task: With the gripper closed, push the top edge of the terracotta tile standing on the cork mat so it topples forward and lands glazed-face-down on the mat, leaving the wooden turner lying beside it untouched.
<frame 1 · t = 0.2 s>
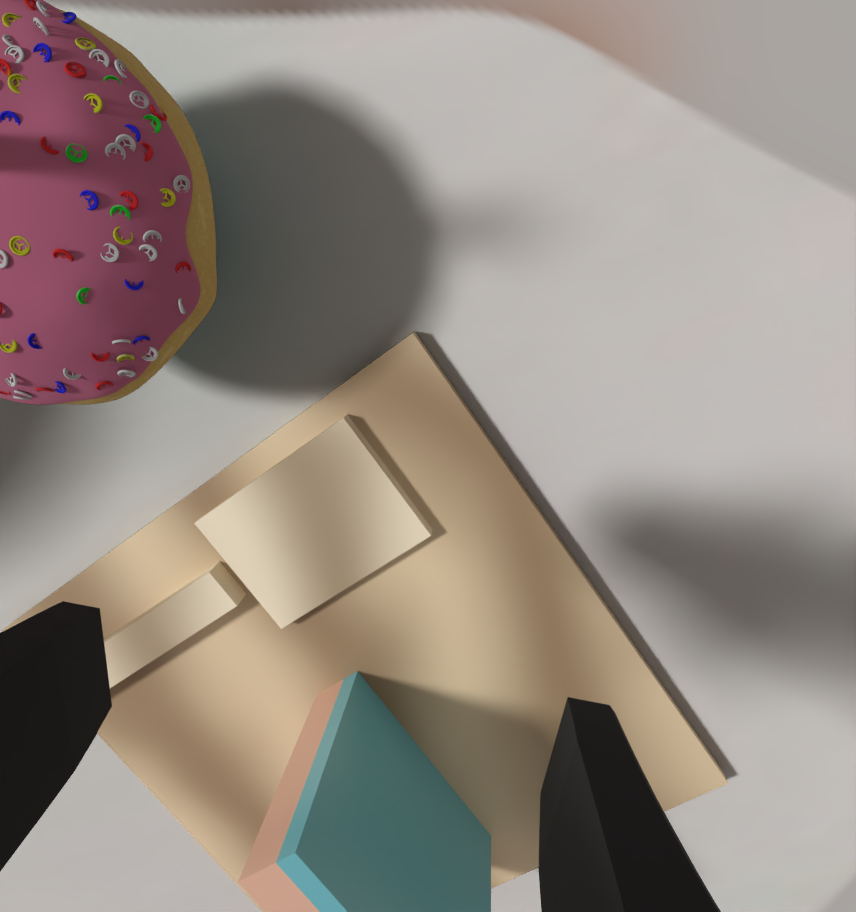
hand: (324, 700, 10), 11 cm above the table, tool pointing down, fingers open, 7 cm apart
cork mat: (357, 695, 22), on the table
tile: (405, 767, 22), resting on cork mat
cupcake: (140, 231, 19), on the table
wooden turner: (244, 570, 21), resting on cork mat
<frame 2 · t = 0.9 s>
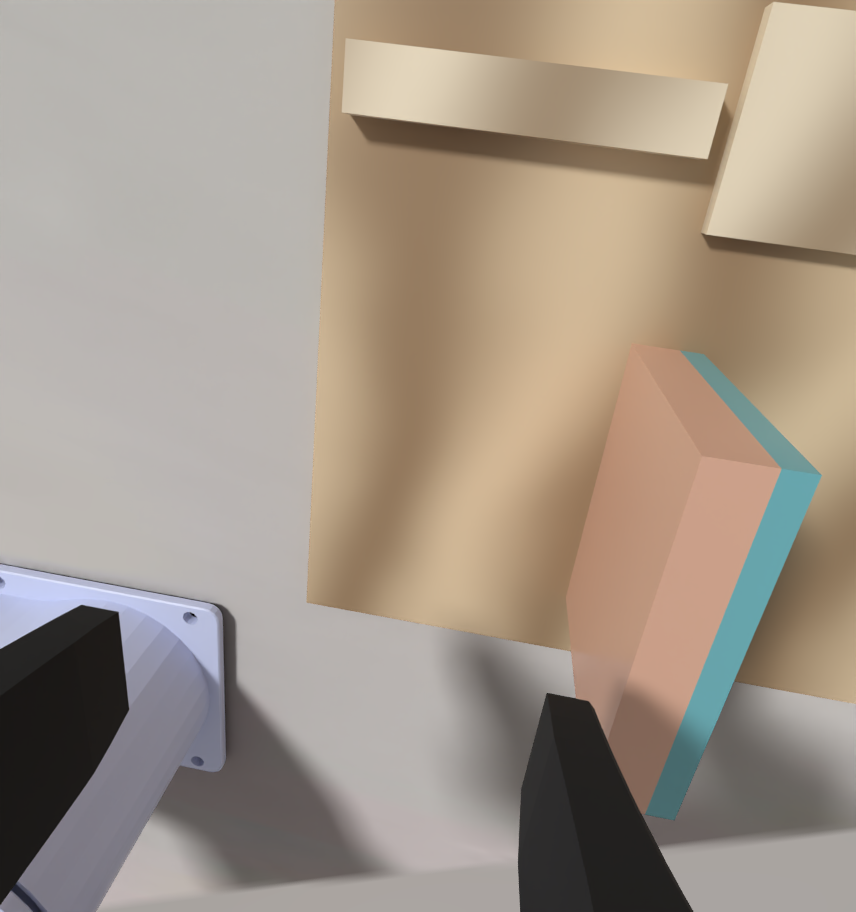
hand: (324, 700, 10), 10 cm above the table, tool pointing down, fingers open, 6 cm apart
cork mat: (653, 380, 17), on the table
tile: (628, 487, 18), resting on cork mat
wooden turner: (730, 127, 14), resting on cork mat
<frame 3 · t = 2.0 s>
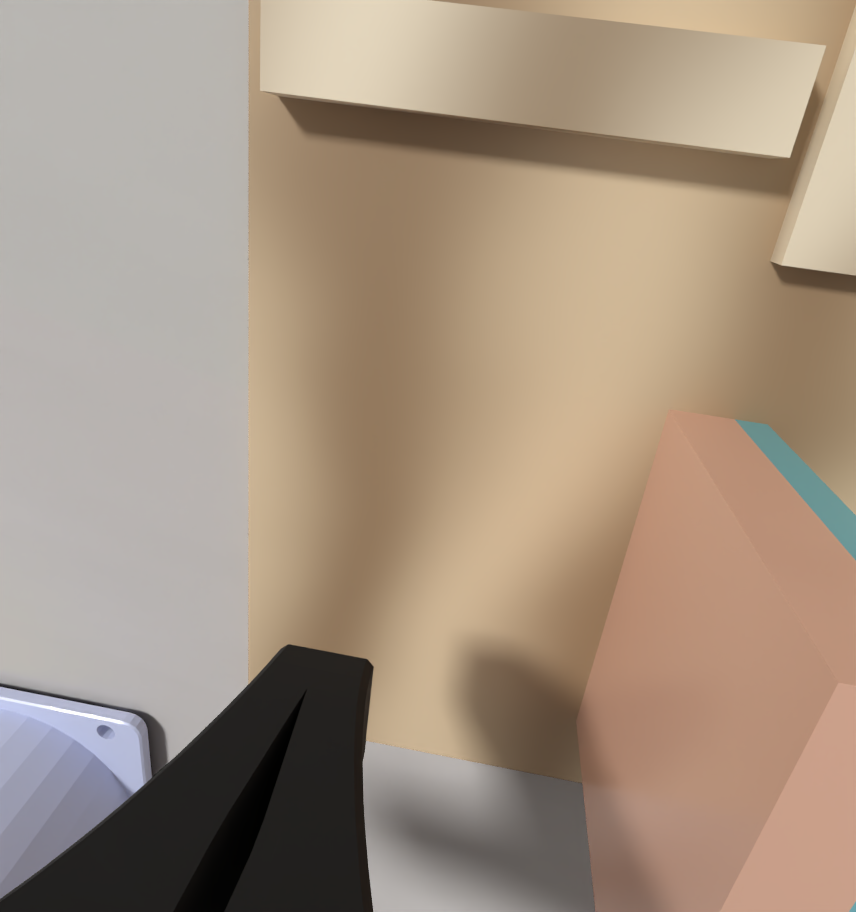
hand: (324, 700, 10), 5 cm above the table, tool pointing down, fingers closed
cork mat: (695, 454, 13), on the table
tile: (659, 591, 14), resting on cork mat
wooden turner: (819, 112, 10), resting on cork mat
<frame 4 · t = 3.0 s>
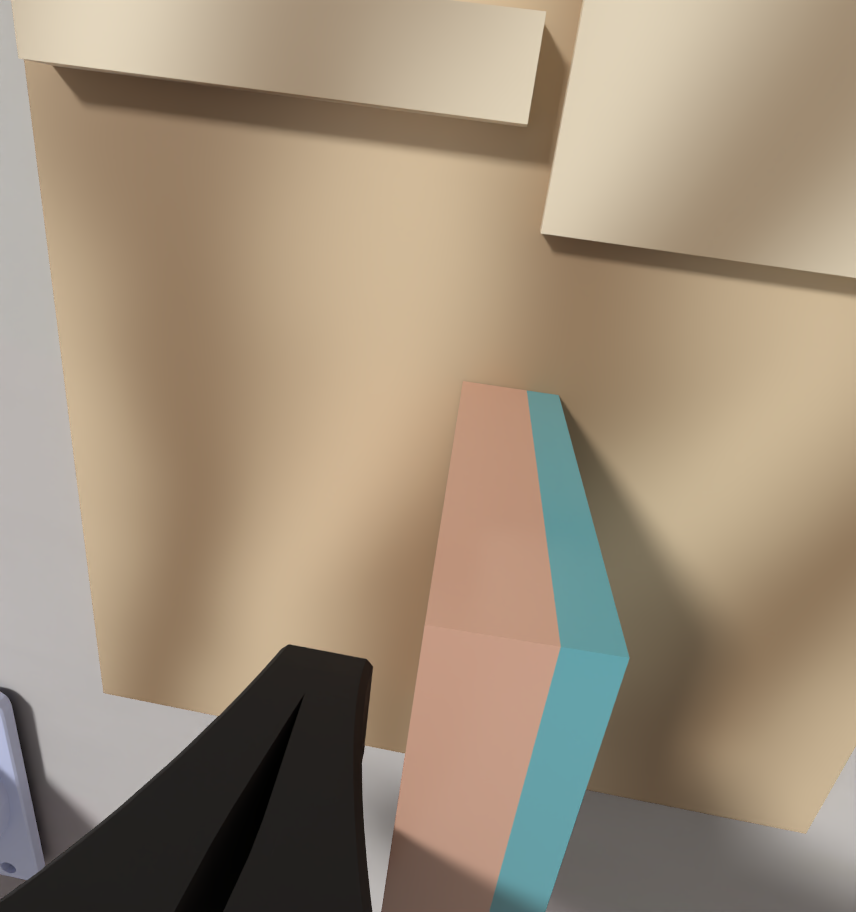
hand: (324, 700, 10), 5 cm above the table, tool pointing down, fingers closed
cork mat: (502, 426, 13), on the table
tile: (477, 565, 14), point 1 cm above the table, touching cork mat
wooden turner: (567, 80, 10), resting on cork mat
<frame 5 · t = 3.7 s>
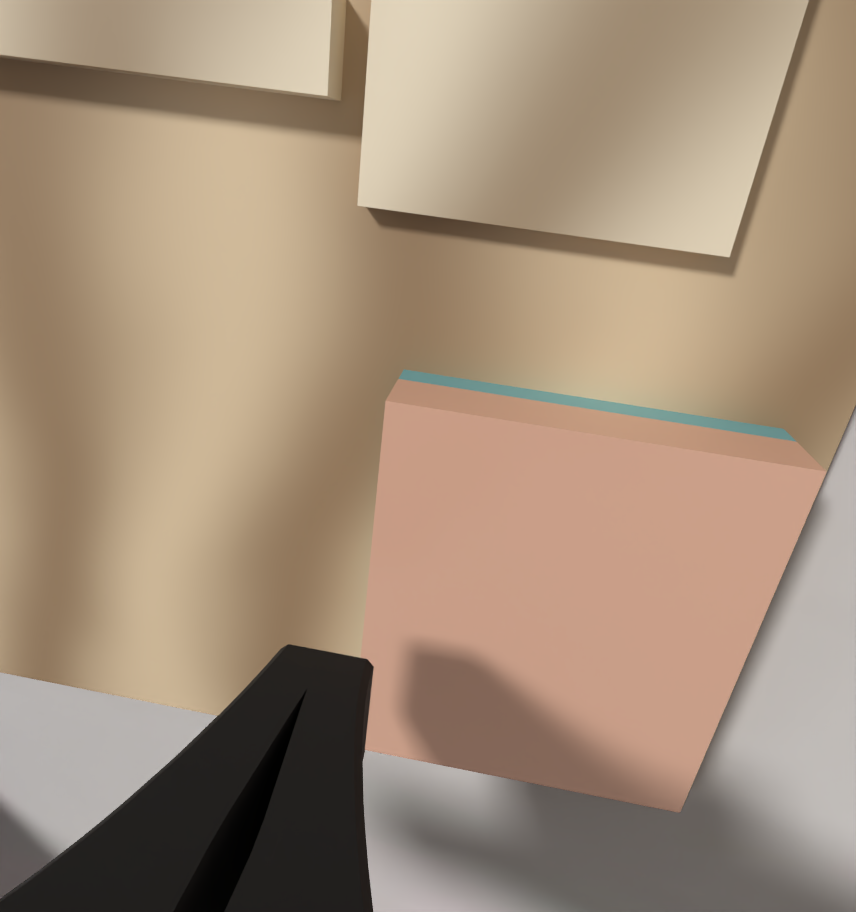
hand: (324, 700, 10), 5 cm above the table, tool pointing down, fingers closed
cork mat: (355, 401, 13), on the table
tile: (376, 571, 13), point 1 cm above the table, tilted 90°, touching cork mat
wooden turner: (374, 54, 10), resting on cork mat
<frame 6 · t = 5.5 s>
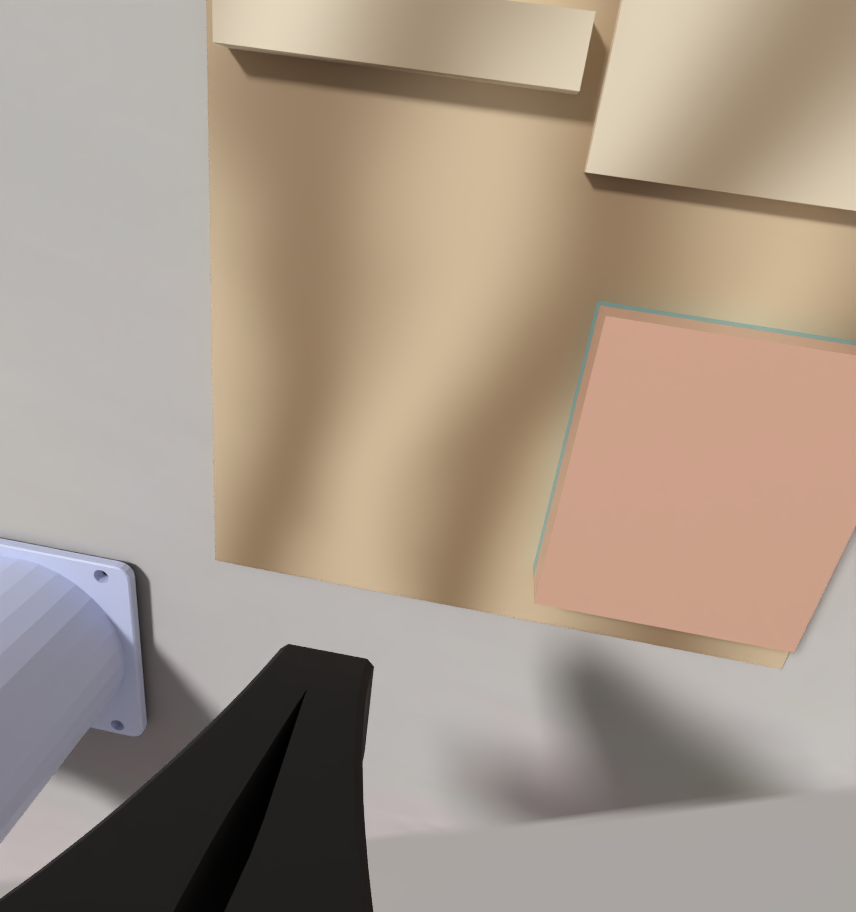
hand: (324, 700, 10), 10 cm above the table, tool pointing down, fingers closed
cork mat: (548, 329, 17), on the table
tile: (563, 460, 17), point 1 cm above the table, tilted 90°, touching cork mat
wooden turner: (607, 61, 14), resting on cork mat
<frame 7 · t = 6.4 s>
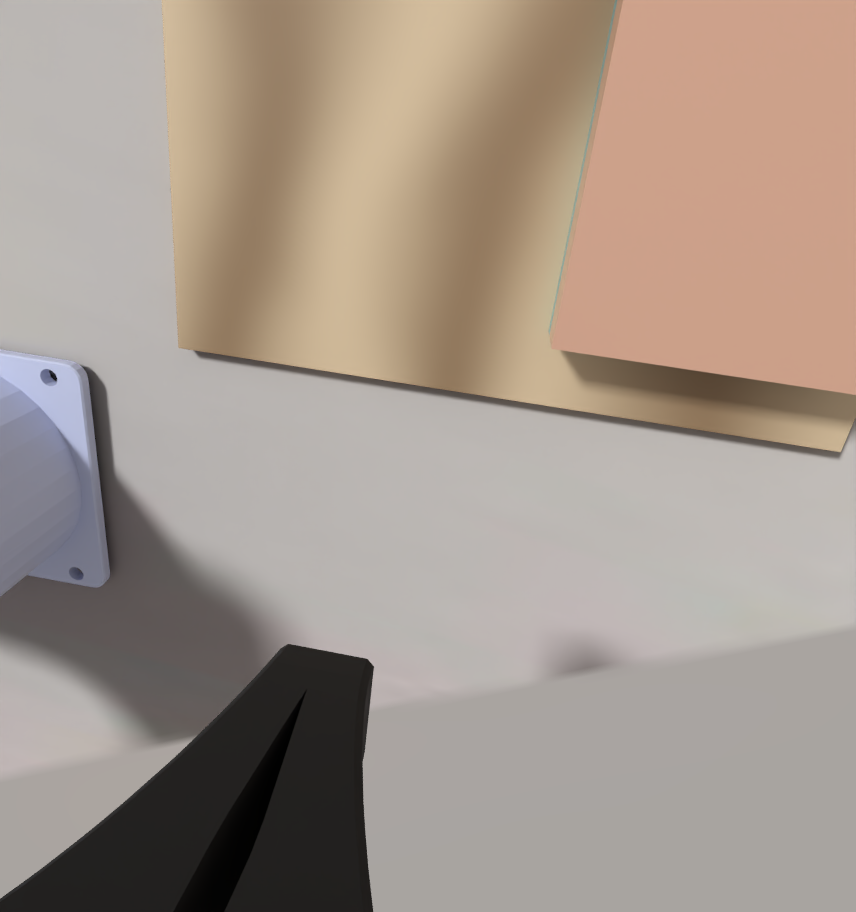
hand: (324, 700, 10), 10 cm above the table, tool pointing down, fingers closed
cork mat: (565, 3, 14), on the table
tile: (586, 159, 14), point 1 cm above the table, tilted 90°, touching cork mat
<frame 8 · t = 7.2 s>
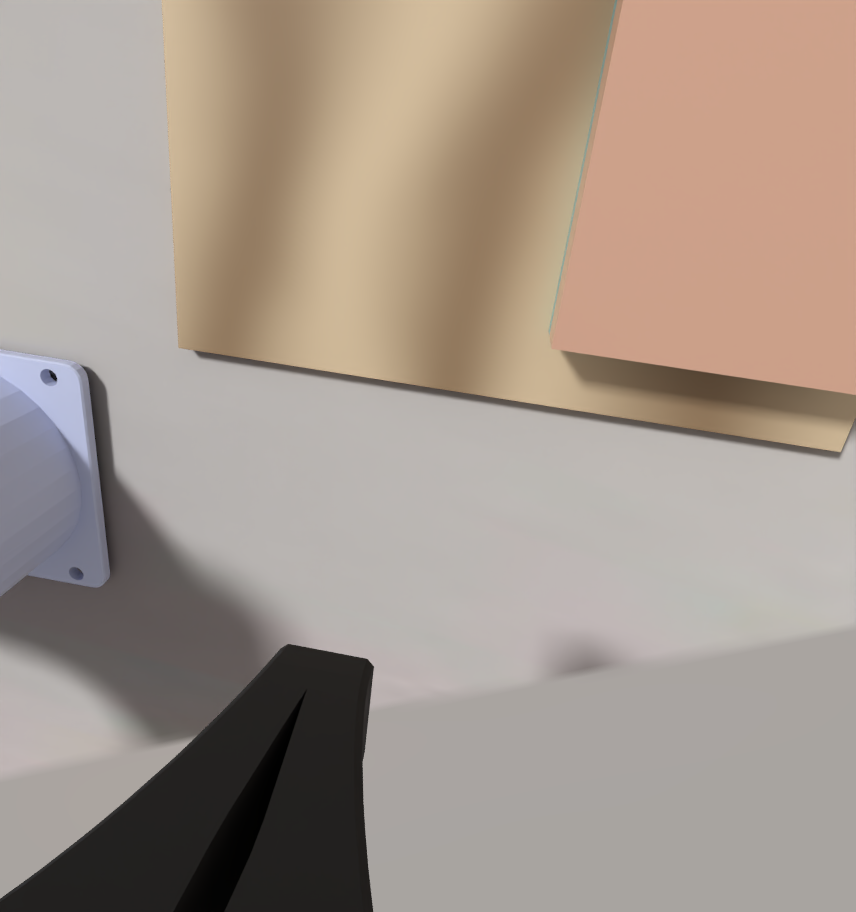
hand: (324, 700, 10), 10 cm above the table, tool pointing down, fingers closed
cork mat: (565, 3, 14), on the table
tile: (586, 159, 14), point 1 cm above the table, tilted 90°, touching cork mat
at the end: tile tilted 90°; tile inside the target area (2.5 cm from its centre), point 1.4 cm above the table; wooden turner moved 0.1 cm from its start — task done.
